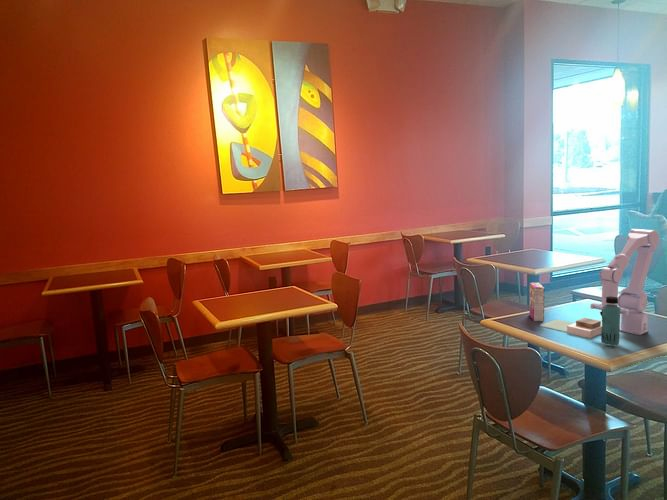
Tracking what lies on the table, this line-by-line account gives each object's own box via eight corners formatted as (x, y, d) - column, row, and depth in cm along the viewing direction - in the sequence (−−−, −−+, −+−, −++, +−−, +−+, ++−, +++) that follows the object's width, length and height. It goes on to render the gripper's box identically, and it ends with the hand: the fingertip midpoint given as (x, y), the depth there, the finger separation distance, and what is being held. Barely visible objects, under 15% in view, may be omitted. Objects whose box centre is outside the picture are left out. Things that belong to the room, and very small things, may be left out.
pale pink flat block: (606, 331, 211) (607, 324, 210) (589, 338, 203) (590, 331, 203) (583, 326, 219) (584, 319, 219) (566, 332, 211) (567, 325, 211)
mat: (582, 325, 219) (582, 325, 219) (565, 332, 212) (565, 331, 212) (556, 320, 230) (556, 319, 230) (539, 326, 222) (539, 325, 222)
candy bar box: (528, 315, 240) (529, 282, 238) (539, 315, 239) (540, 282, 237) (533, 321, 229) (533, 287, 227) (544, 321, 228) (545, 287, 226)
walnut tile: (600, 325, 209) (600, 321, 209) (592, 328, 205) (592, 324, 205) (584, 322, 215) (584, 317, 215) (575, 325, 211) (576, 320, 211)
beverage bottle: (613, 343, 196) (615, 294, 193) (623, 348, 189) (625, 298, 187) (597, 344, 196) (598, 295, 193) (606, 349, 189) (608, 299, 186)
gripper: (587, 295, 205) (586, 326, 207) (623, 301, 193) (622, 334, 195) (595, 292, 209) (594, 323, 211) (632, 298, 197) (630, 330, 199)
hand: (608, 328), depth 203 cm, fingers closed
